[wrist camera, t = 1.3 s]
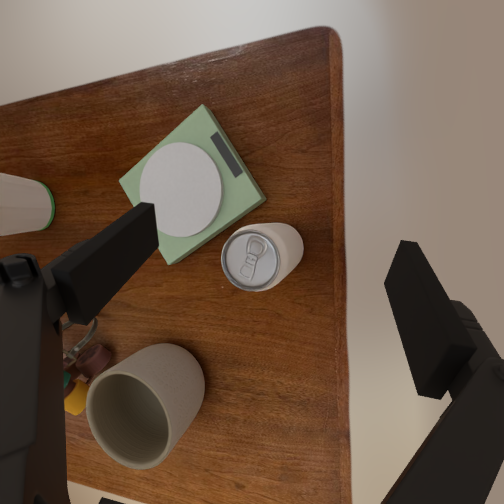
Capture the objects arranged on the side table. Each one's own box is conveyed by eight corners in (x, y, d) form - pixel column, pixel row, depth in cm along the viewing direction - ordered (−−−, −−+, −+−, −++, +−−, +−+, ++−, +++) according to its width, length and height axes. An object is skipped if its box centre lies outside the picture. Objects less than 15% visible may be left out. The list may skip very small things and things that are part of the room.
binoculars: (80, 351, 55) (24, 438, 43) (16, 303, 48) (-72, 390, 36) (135, 331, 50) (91, 422, 38) (73, 274, 44) (-6, 363, 32)
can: (312, 234, 36) (296, 241, 25) (292, 280, 38) (268, 308, 26) (265, 214, 38) (230, 213, 26) (248, 260, 39) (207, 277, 28)
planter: (134, 341, 47) (73, 376, 36) (200, 327, 43) (153, 363, 32) (156, 415, 47) (102, 471, 37) (224, 408, 43) (185, 469, 33)
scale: (210, 110, 38) (199, 101, 35) (267, 199, 37) (260, 198, 34) (130, 182, 44) (114, 180, 41) (177, 262, 43) (164, 266, 40)
